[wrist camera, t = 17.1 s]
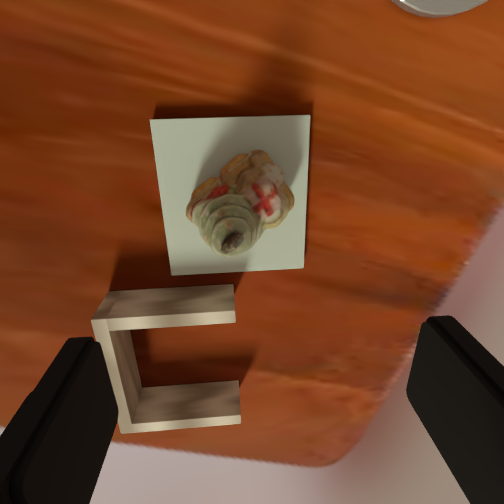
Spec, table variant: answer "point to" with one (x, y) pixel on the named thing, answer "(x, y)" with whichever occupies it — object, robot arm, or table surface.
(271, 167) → the ornament
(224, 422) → the shelf bay
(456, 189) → the table surface
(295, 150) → the tile mat
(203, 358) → the table surface
